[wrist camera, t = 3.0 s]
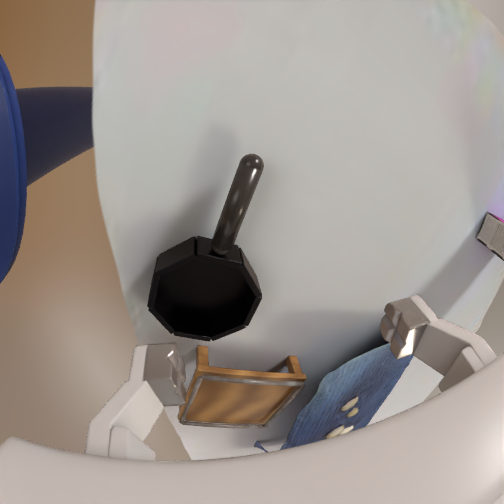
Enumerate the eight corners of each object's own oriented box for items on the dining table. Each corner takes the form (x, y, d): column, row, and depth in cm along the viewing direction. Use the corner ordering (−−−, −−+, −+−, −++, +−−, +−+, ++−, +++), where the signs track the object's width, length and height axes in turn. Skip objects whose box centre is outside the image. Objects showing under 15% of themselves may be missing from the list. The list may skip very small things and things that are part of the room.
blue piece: (271, 323, 35) (323, 387, 26) (400, 279, 46) (446, 312, 37) (252, 452, 56) (274, 487, 47) (340, 411, 67) (363, 439, 58)
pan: (147, 309, 28) (143, 329, 26) (191, 131, 20) (189, 136, 17) (234, 326, 31) (238, 345, 29) (305, 169, 23) (318, 179, 21)
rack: (177, 397, 38) (177, 424, 34) (196, 343, 32) (197, 376, 28) (260, 404, 42) (265, 428, 38) (298, 355, 36) (308, 384, 32)
